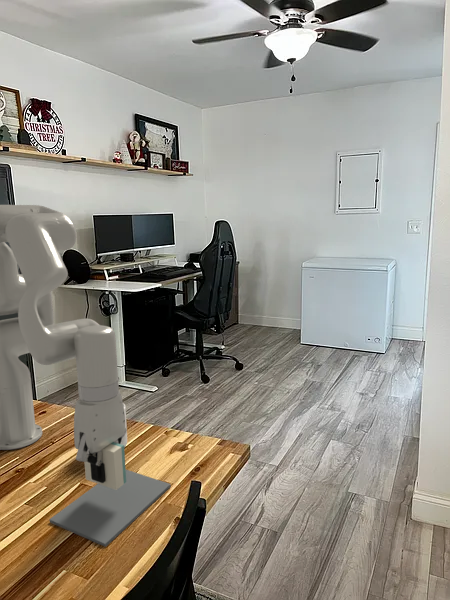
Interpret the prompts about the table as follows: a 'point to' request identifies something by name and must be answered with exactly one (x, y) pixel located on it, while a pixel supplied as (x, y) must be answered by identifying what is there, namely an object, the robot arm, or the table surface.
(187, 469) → the table surface
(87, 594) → the table surface
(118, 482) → the cream and teal block
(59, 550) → the table surface
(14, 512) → the table surface
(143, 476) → the mat
